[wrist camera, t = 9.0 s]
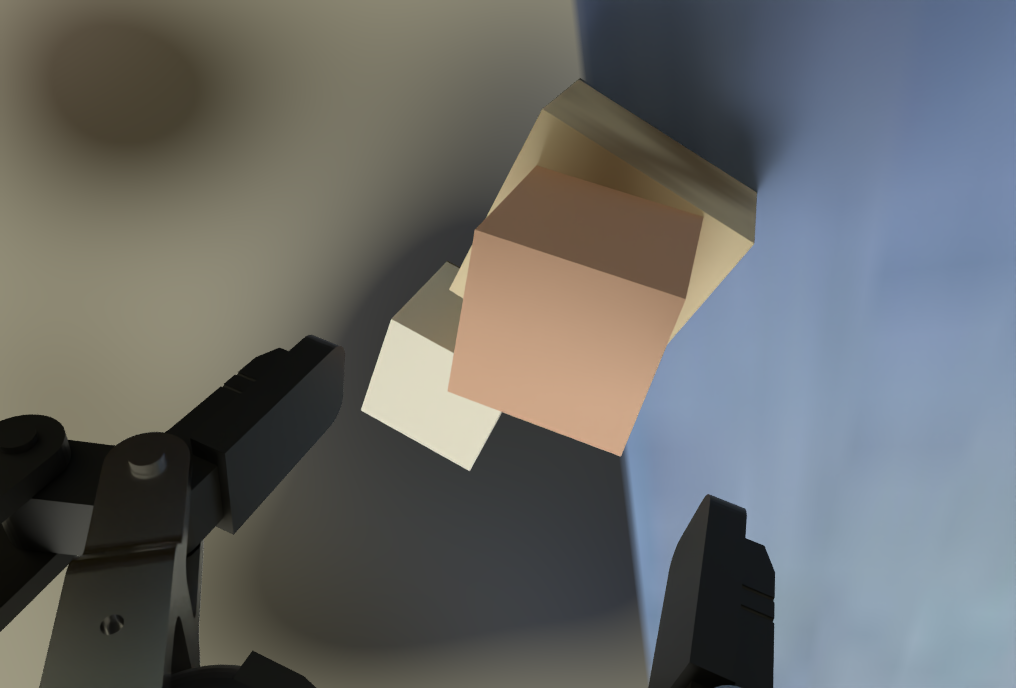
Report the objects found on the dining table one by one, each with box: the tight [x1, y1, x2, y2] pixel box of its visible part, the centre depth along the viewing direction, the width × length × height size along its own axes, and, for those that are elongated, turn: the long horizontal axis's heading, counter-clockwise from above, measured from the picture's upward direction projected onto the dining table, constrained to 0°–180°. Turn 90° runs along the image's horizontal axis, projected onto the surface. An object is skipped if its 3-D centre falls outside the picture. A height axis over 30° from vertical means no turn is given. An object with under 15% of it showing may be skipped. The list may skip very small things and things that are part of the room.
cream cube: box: [361, 261, 502, 471], centre depth 26 cm, size 5×5×5 cm
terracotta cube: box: [448, 165, 704, 456], centre depth 18 cm, size 5×5×5 cm
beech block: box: [449, 78, 757, 344], centre depth 22 cm, size 7×7×4 cm
